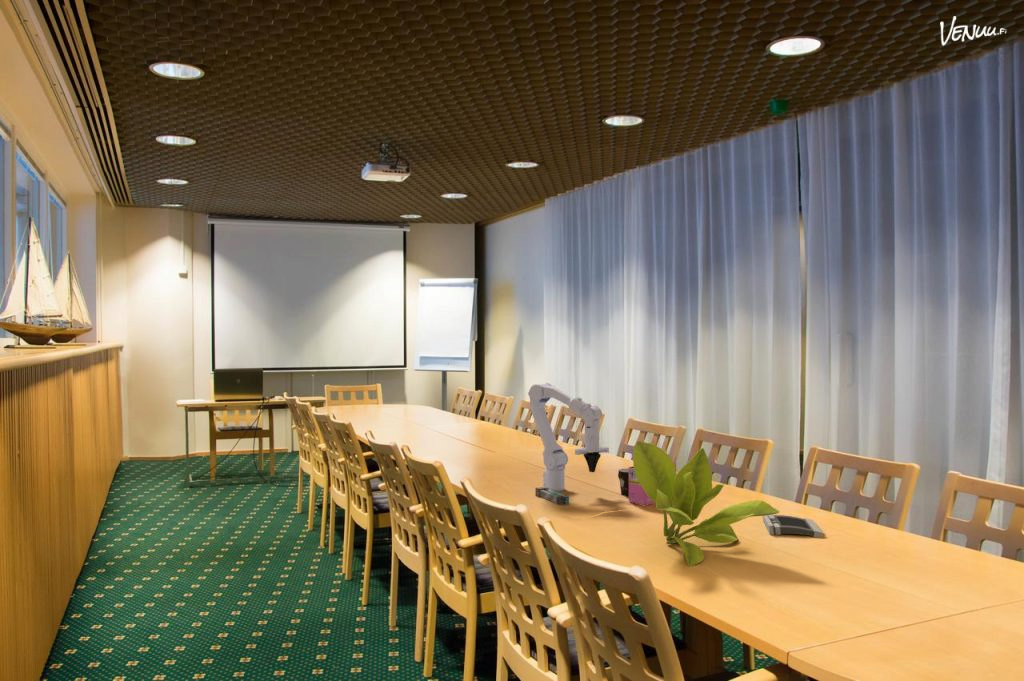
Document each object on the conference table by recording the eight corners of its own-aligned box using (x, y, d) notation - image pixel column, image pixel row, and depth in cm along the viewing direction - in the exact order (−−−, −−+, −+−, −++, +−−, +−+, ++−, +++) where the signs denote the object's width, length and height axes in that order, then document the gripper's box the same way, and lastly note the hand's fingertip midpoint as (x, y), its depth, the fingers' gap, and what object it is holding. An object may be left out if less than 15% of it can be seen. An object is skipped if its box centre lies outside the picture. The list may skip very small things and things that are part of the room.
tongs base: (535, 495, 295) (535, 486, 295) (545, 494, 297) (545, 485, 297) (559, 505, 278) (559, 495, 278) (569, 504, 280) (569, 494, 280)
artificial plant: (636, 589, 206) (688, 511, 192) (587, 479, 240) (628, 406, 227) (756, 598, 222) (811, 526, 209) (693, 493, 257) (737, 426, 243)
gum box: (662, 493, 302) (661, 459, 302) (679, 496, 297) (679, 461, 297) (627, 503, 285) (627, 467, 285) (645, 506, 279) (645, 469, 279)
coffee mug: (642, 497, 293) (642, 472, 293) (619, 497, 293) (619, 472, 293) (637, 491, 305) (637, 467, 305) (616, 491, 305) (616, 467, 305)
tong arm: (546, 497, 292) (546, 490, 292) (550, 496, 292) (550, 489, 292) (564, 504, 279) (564, 497, 279) (568, 503, 280) (568, 496, 280)
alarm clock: (762, 513, 255) (813, 511, 252) (763, 527, 255) (814, 525, 252) (769, 525, 238) (823, 524, 235) (770, 540, 238) (825, 538, 235)
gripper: (581, 439, 291) (581, 474, 291) (613, 437, 297) (613, 472, 297) (572, 437, 297) (572, 472, 297) (603, 435, 303) (603, 469, 303)
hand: (592, 471), depth 298 cm, fingers closed
